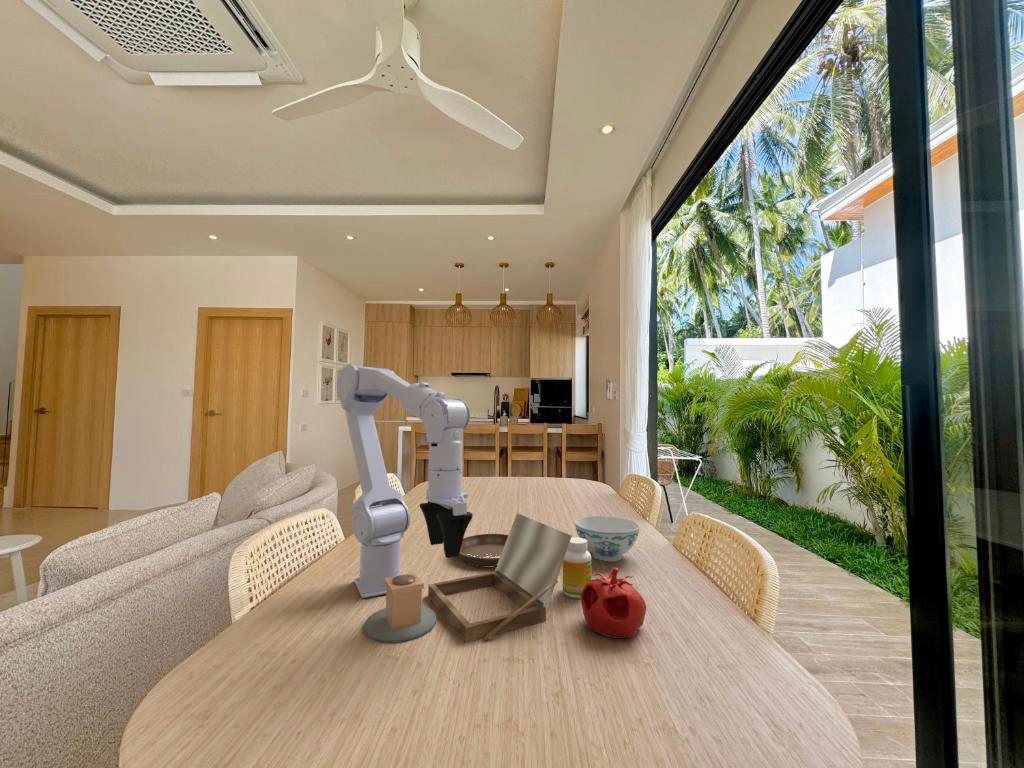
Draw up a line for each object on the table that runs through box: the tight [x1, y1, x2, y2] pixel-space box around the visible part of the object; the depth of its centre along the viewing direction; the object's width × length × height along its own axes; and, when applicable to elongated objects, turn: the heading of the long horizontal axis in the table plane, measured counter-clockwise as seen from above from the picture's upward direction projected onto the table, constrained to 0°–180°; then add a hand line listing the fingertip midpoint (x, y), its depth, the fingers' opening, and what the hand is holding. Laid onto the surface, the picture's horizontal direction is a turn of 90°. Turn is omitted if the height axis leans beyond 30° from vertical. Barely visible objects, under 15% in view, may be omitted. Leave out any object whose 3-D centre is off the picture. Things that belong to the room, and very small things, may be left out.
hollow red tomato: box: [580, 567, 647, 639], centre depth 66 cm, size 10×10×9 cm
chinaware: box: [574, 515, 641, 562], centre depth 99 cm, size 15×15×8 cm
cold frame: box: [427, 512, 573, 643], centre depth 74 cm, size 19×19×13 cm
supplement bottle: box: [562, 536, 592, 599], centre depth 79 cm, size 5×5×10 cm
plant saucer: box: [458, 533, 509, 567], centre depth 99 cm, size 18×18×3 cm
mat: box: [364, 604, 437, 643], centre depth 67 cm, size 11×11×1 cm
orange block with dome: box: [384, 572, 425, 629], centre depth 67 cm, size 5×5×6 cm
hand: (444, 550), depth 71 cm, fingers open, 7 cm apart
